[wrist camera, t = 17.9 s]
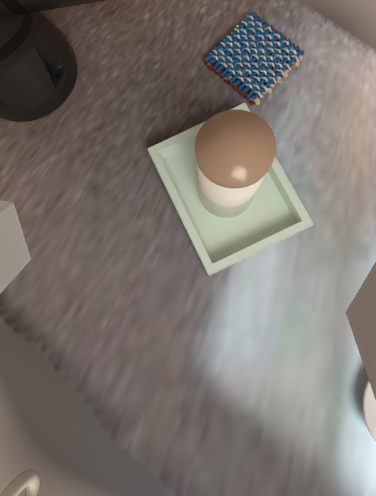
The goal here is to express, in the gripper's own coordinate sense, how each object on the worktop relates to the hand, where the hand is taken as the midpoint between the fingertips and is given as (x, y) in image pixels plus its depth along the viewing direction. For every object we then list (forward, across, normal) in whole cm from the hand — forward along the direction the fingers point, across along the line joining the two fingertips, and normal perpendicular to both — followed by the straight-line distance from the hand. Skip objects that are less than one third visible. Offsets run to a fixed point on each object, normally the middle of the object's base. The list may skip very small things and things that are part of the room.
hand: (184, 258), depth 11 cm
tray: (+28, +2, -11) cm, 30 cm away
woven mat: (+43, +3, +2) cm, 43 cm away
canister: (+28, +2, -10) cm, 30 cm away
